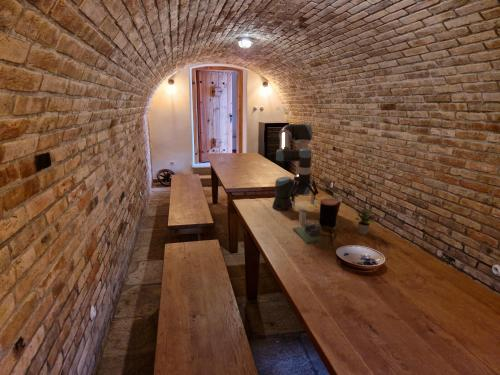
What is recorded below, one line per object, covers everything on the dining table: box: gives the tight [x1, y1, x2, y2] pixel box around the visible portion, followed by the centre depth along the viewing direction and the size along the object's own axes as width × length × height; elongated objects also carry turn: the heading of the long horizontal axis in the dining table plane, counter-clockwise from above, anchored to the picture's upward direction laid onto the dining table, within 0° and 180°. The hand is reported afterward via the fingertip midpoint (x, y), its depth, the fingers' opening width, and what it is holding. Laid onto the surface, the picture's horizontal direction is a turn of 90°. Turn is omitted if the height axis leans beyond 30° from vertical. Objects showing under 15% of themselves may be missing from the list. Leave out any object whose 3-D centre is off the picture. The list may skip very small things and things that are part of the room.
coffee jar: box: [318, 198, 338, 228], centre depth 202 cm, size 11×11×18 cm
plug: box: [298, 208, 307, 227], centre depth 209 cm, size 5×3×10 cm, turn 17°
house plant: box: [354, 207, 377, 235], centre depth 194 cm, size 14×14×16 cm
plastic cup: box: [328, 197, 343, 216], centre depth 223 cm, size 11×11×12 cm
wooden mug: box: [316, 220, 343, 250], centre depth 175 cm, size 9×14×18 cm, turn 44°
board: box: [292, 221, 321, 245], centre depth 193 cm, size 20×16×6 cm
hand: (303, 205), depth 206 cm, fingers open, 13 cm apart
